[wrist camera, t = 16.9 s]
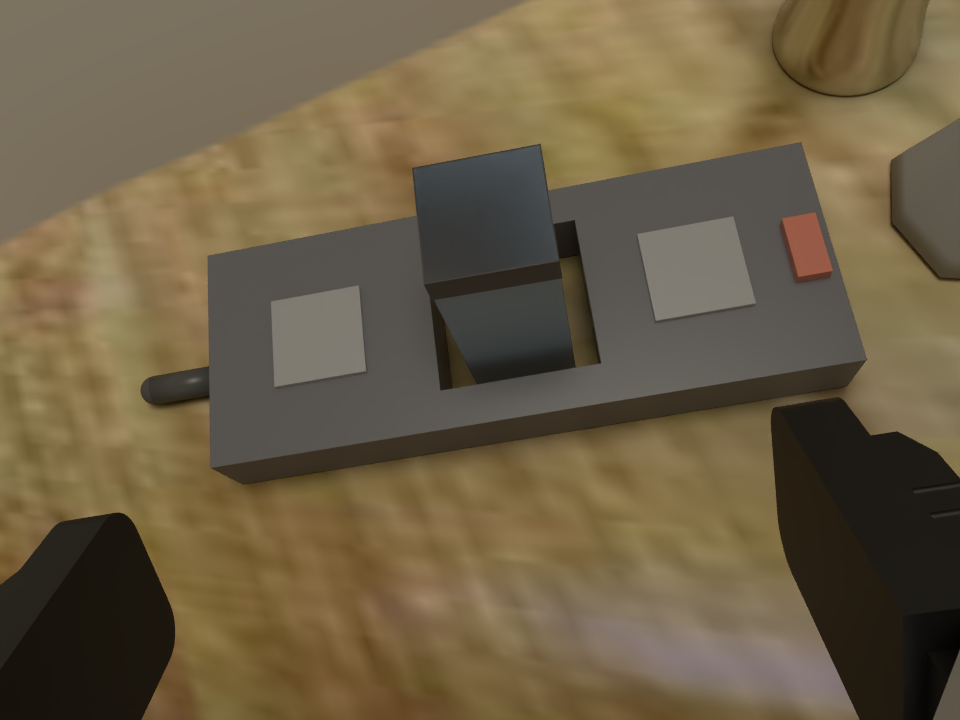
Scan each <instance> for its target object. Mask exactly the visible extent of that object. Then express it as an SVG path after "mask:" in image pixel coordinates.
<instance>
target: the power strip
mask: <svg viewBox="0 0 960 720" xmlns="http://www.w3.org/2000/svg"><path fill="white" fill-rule="evenodd" d="M548 193H549V199H550V205H551V212H552V218H553V224H554V230H555V236H556V243H557V249H558V255H559V258H563V257H568V256H574V255H579V259H580V264H581V270H582V275H583V281H584V286H585V292H586V297H587V302H588V308H589V313H590V319H591V324H592V330H593V335H594V340H595V346H596V351H597V357H598V362H599V364H595V365H589V366H583V367H577V368H571V369H565V370H559V371H553V372H547V373H541V374H536V375H530V376H524V377H518V378H512V379H506V380H500V381H494V382H488V383H483V384H477V385H471V386H465V387H459V388H453V389H452V383H451V375H450V366H449V358H448V350H447V341H446V333H445V324H444V319H443V317H442V315H441V313H440V311H439V309H438V307H437V305H436V303H435V301H434V300H431V298H430V296H429V294H428V292H427V290H426V288H425V286H424V283H423V273H422V263H421V253H420V242H419V232H418V222H417V216H413V217H408V218H403V219H398V220H392V221H387V222H382V223H377V224H372V225H366V226H361V227H356V228H351V229H345V230H340V231H335V232H330V233H325V234H319V235H314V236H309V237H304V238H298V239H293V240H288V241H283V242H278V243H272V244H267V245H262V246H257V247H251V248H246V249H241V250H236V251H231V252H225V253H220V254H215V255H210V256H208V316H209V366H208V367H203V368H197V369H192V370H186V371H180V372H175V373H169V374H163V375H158V376H153V377H149V378H147V379H146V380H145V381H144V382H143V384H142V386H141V395H142V397H143V399H144V400H145V401H146V402H148V403H150V404H163V403H168V402H174V401H180V400H186V399H191V398H197V397H203V396H208V395H210V468H212V469H214V470H216V471H218V472H219V473H221V474H223V475H225V476H227V477H229V478H231V479H233V480H235V481H237V482H239V483H241V484H248V483H254V482H260V481H267V480H273V479H279V478H285V477H291V476H297V475H304V474H310V473H316V472H322V471H328V470H334V469H341V468H347V467H353V466H359V465H365V464H371V463H378V462H384V461H390V460H396V459H402V458H408V457H415V456H421V455H427V454H433V453H439V452H445V451H451V450H458V449H464V448H470V447H476V446H482V445H488V444H495V443H501V442H507V441H513V440H519V439H525V438H532V437H538V436H544V435H550V434H556V433H562V432H569V431H575V430H581V429H587V428H593V427H599V426H606V425H612V424H618V423H624V422H630V421H636V420H642V419H649V418H655V417H661V416H667V415H673V414H679V413H686V412H692V411H698V410H704V409H710V408H716V407H723V406H729V405H735V404H741V403H747V402H753V401H760V400H766V399H772V398H778V397H784V396H790V395H797V394H803V393H809V392H815V391H821V390H827V389H834V388H840V387H846V386H847V385H848V384H849V383H850V381H851V380H852V379H853V377H854V376H855V375H856V373H857V372H858V371H859V369H860V368H861V367H862V365H863V364H864V363H865V362H866V360H867V358H866V355H865V352H864V348H863V345H862V342H861V338H860V335H859V332H858V329H857V325H856V322H855V319H854V315H853V312H852V309H851V305H850V302H849V299H848V296H847V292H846V289H845V286H844V282H843V279H842V276H841V272H840V269H839V266H838V262H837V259H836V256H835V253H834V249H833V246H832V243H831V239H830V236H829V233H828V229H827V226H826V223H825V219H824V216H823V213H822V210H821V206H820V203H819V200H818V196H817V193H816V190H815V186H814V183H813V180H812V176H811V173H810V170H809V167H808V163H807V160H806V157H805V153H804V150H803V147H802V143H801V142H800V143H795V144H789V145H784V146H779V147H774V148H769V149H763V150H758V151H753V152H748V153H742V154H737V155H732V156H727V157H722V158H716V159H711V160H706V161H701V162H695V163H690V164H685V165H680V166H675V167H669V168H664V169H659V170H654V171H648V172H643V173H638V174H633V175H628V176H622V177H617V178H612V179H607V180H601V181H596V182H591V183H586V184H580V185H575V186H570V187H565V188H560V189H554V190H549V191H548Z"/></svg>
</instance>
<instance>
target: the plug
mask: <svg viewBox="0 0 960 720" xmlns="http://www.w3.org/2000/svg"><path fill="white" fill-rule="evenodd" d="M412 171H413V181H414V192H415V202H416V212H417V222H418V232H419V242H420V253H421V263H422V273H423V283H424V286H425V288H426V290H427V292H428V294H429V296H430V298H431V300H434V301H435V303H436V305H437V307H438V309H439V311H440V313H441V315H442V317H443V319H444V321H445V322H446V324H447V326H448V328H449V330H450V332H451V334H452V336H453V338H454V340H455V342H456V344H457V346H458V348H459V350H460V352H461V354H462V356H463V358H464V360H465V361H466V363H467V365H468V367H469V369H470V371H471V373H472V375H473V377H474V379H475V381H476V383H477V384H483V383H488V382H494V381H500V380H506V379H512V378H518V377H524V376H530V375H536V374H541V373H547V372H553V371H559V370H565V369H571V368H576V367H575V361H574V355H573V349H572V342H571V336H570V330H569V324H568V318H567V311H566V305H565V299H564V293H563V287H562V280H561V278H562V273H561V267H560V261H559V255H558V249H557V243H556V236H555V230H554V224H553V218H552V212H551V205H550V199H549V193H548V187H547V181H546V174H545V168H544V162H543V156H542V150H541V144H538V145H532V146H527V147H522V148H516V149H511V150H506V151H500V152H495V153H489V154H484V155H479V156H473V157H468V158H463V159H457V160H452V161H447V162H441V163H436V164H431V165H425V166H420V167H415V168H412Z"/></svg>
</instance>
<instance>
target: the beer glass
mask: <svg viewBox="0 0 960 720" xmlns="http://www.w3.org/2000/svg"><path fill="white" fill-rule="evenodd" d="M929 1H930V0H785V2H784V3H783V5H782V7H781V9H780V11H779V13H778V15H777V17H776V20H775V23H774V26H773V31H772V43H773V49H774V53H775V56H776V58H777V60H778V62H779V63H780V65H781V67H782V68H783V69H784V70H785V72H786V73H787V74H788V75H789V76H791V77H792V78H793V79H794V80H796V81H797V82H798V83H800V84H802V85H803V86H805V87H807V88H809V89H812V90H814V91H817V92H821V93H825V94H829V95H837V96H855V95H862V94H867V93H871V92H874V91H877V90H879V89H882V88H884V87H886V86H888V85H890V84H891V83H893V82H894V81H896V80H897V79H898V78H899V77H901V76H902V75H903V74H904V73H905V72H906V70H907V69H908V68H909V67H910V65H911V64H912V63H913V61H914V59H915V57H916V55H917V52H918V49H919V46H920V42H921V38H922V33H923V27H924V21H925V15H926V10H927V7H928V4H929Z"/></svg>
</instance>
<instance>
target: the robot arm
mask: <svg viewBox="0 0 960 720" xmlns="http://www.w3.org/2000/svg"><path fill="white" fill-rule="evenodd" d="M771 433H772V447H773V460H774V473H775V487H776V500H777V514H778V523H779V530H780V535H781V540H782V544H783V548H784V552H785V556H786V559H787V562H788V565H789V567H790V570H791V572H792V575H793V577H794V579H795V581H796V583H797V585H798V588H799V590H800V592H801V594H802V596H803V598H804V600H805V603H806V605H807V607H808V609H809V611H810V613H811V616H812V618H813V620H814V622H815V624H816V626H817V629H818V631H819V633H820V635H821V637H822V639H823V641H824V644H825V646H826V648H827V650H828V652H829V654H830V657H831V659H832V661H833V663H834V665H835V667H836V670H837V672H838V674H839V676H840V678H841V680H842V682H843V685H844V687H845V689H846V691H847V693H848V695H849V698H850V700H851V702H852V704H853V706H854V708H855V711H856V713H857V715H858V717H859V719H860V720H960V478H959V477H958V476H957V474H956V473H955V472H954V471H953V470H952V469H951V468H950V466H949V465H948V464H947V463H946V462H945V461H944V459H943V458H942V457H941V456H940V455H939V454H938V453H937V452H936V451H934V450H932V449H930V448H928V447H926V446H924V445H922V444H920V443H918V442H917V441H915V440H913V439H911V438H909V437H907V436H905V435H903V434H901V433H899V432H898V431H897V432H891V433H884V434H878V435H870V434H869V433H868V432H867V430H866V429H865V428H864V426H863V425H862V424H861V422H860V421H859V420H858V418H857V417H856V416H855V414H854V413H853V412H852V410H851V409H850V408H849V407H848V405H847V404H846V403H845V401H844V400H843V399H841V398H840V397H835V398H829V399H823V400H817V401H811V402H805V403H799V404H792V405H786V406H780V407H775V408H773V410H772V414H771ZM174 642H175V622H174V616H173V612H172V608H171V606H170V603H169V601H168V599H167V596H166V594H165V592H164V590H163V587H162V585H161V583H160V580H159V578H158V576H157V574H156V571H155V569H154V567H153V565H152V562H151V560H150V558H149V556H148V553H147V551H146V549H145V547H144V544H143V542H142V540H141V538H140V535H139V533H138V531H137V529H136V527H135V525H134V523H133V522H132V520H131V519H130V518H129V517H128V516H126V515H125V514H123V513H111V514H105V515H99V516H93V517H87V518H81V519H74V520H68V521H63V522H60V523H58V524H57V525H55V527H54V528H53V529H52V530H51V531H50V532H49V534H48V535H47V536H46V537H45V539H44V540H43V541H42V543H41V544H40V545H39V546H38V548H37V549H36V550H35V551H34V553H33V554H32V555H31V556H30V558H29V559H28V560H27V562H26V563H25V564H24V565H23V567H22V568H21V569H20V570H19V571H18V572H16V573H15V574H14V575H13V576H11V577H10V578H9V579H8V580H6V581H5V582H4V583H3V584H1V585H0V720H141V719H142V717H143V715H144V713H145V711H146V709H147V707H148V704H149V702H150V700H151V698H152V696H153V694H154V692H155V690H156V688H157V686H158V683H159V681H160V679H161V677H162V675H163V673H164V671H165V669H166V667H167V665H168V662H169V660H170V658H171V655H172V652H173V648H174Z"/></svg>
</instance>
